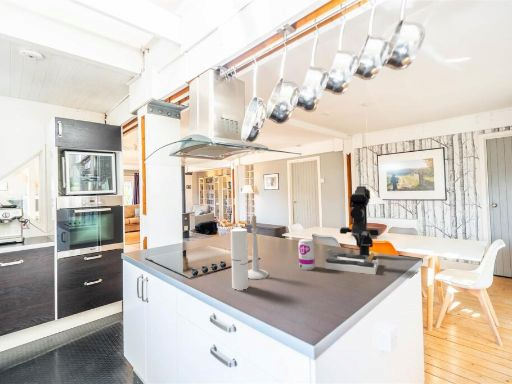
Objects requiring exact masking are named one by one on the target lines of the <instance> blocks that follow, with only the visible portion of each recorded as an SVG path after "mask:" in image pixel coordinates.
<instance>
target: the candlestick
mask: <svg viewBox="0 0 512 384" xmlns="http://www.w3.org/2000/svg"><path fill="white" fill-rule="evenodd" d="M251 220H252V221H251V222H252V223H251V226H252V228H250V230H251V233H252V249H251V250H252V251H251V253H252V254H251V268H250V269H248V278H249V279H248V280H250V279H259V280H263V279H262V278H264V279H267V278H268V277H269V276H270V275H269V272H268V271H267V270H265V269H261V268H260V263H259V250H258V238H257V237H258V236H257V234H258V231H259V229H258V228H257V216H256V215H252V216H251ZM268 275H269V276H268ZM267 276H268V277H267ZM266 277H267V278H266Z"/></svg>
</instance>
